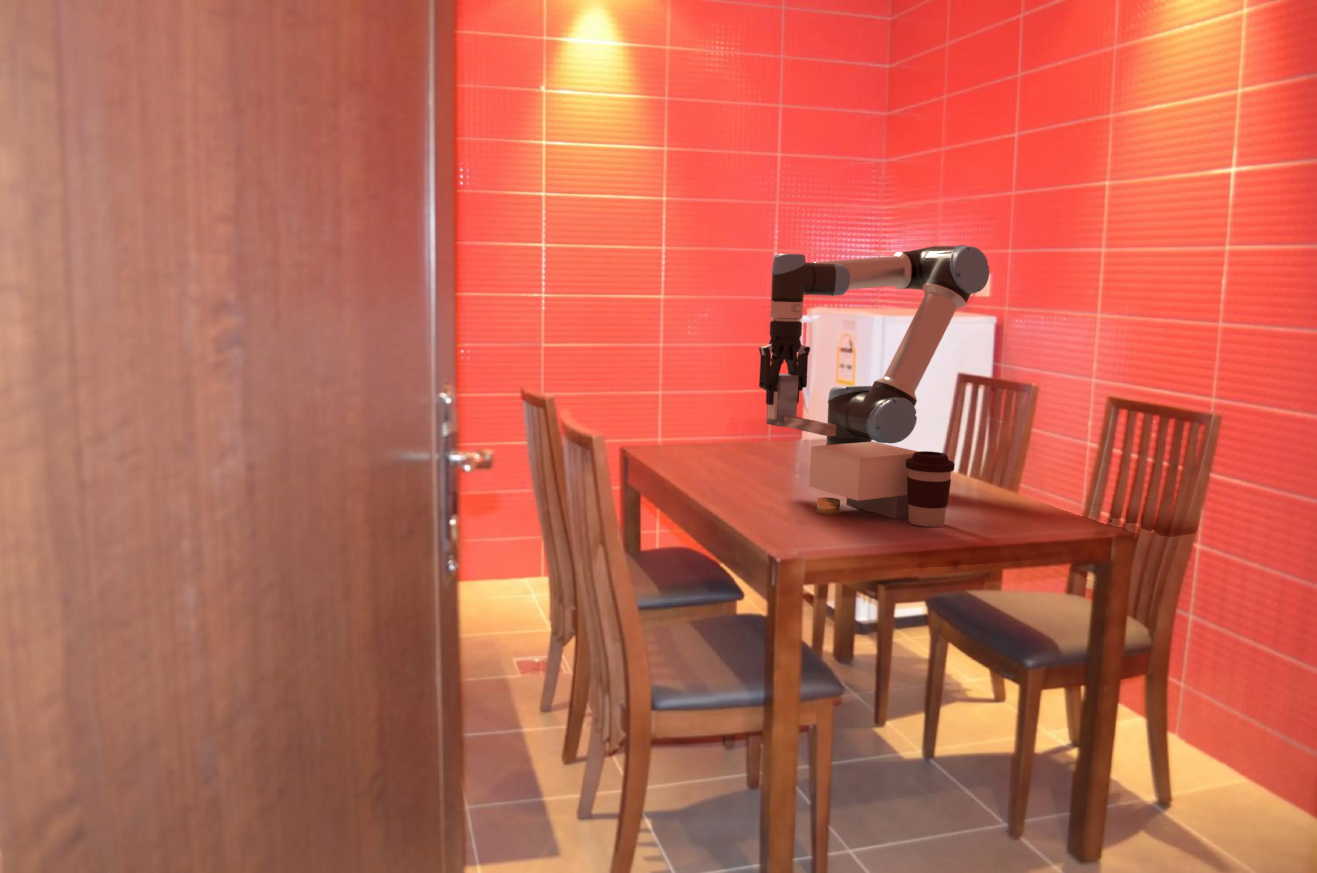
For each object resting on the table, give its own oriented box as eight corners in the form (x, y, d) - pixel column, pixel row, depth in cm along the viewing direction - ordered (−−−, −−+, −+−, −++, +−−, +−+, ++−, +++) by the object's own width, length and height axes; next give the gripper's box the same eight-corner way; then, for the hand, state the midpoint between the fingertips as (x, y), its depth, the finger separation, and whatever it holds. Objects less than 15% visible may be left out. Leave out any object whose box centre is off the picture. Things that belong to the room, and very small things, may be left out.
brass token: (811, 511, 231) (812, 498, 231) (829, 509, 234) (830, 496, 234) (826, 516, 227) (827, 503, 227) (844, 514, 230) (844, 501, 229)
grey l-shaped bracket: (766, 423, 253) (768, 374, 251) (783, 422, 256) (785, 373, 254) (822, 436, 235) (825, 382, 233) (840, 435, 238) (842, 382, 236)
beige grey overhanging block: (808, 508, 234) (811, 446, 232) (869, 501, 243) (873, 441, 241) (856, 524, 220) (859, 458, 218) (919, 515, 230) (923, 452, 227)
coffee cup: (917, 530, 216) (921, 458, 214) (893, 519, 226) (897, 450, 224) (959, 528, 219) (964, 457, 217) (934, 517, 229) (939, 449, 226)
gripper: (764, 320, 241) (760, 421, 244) (826, 320, 250) (821, 418, 253) (745, 319, 247) (741, 417, 251) (806, 319, 256) (801, 414, 260)
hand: (781, 417), depth 252 cm, fingers closed on grey l-shaped bracket, 5 cm apart
